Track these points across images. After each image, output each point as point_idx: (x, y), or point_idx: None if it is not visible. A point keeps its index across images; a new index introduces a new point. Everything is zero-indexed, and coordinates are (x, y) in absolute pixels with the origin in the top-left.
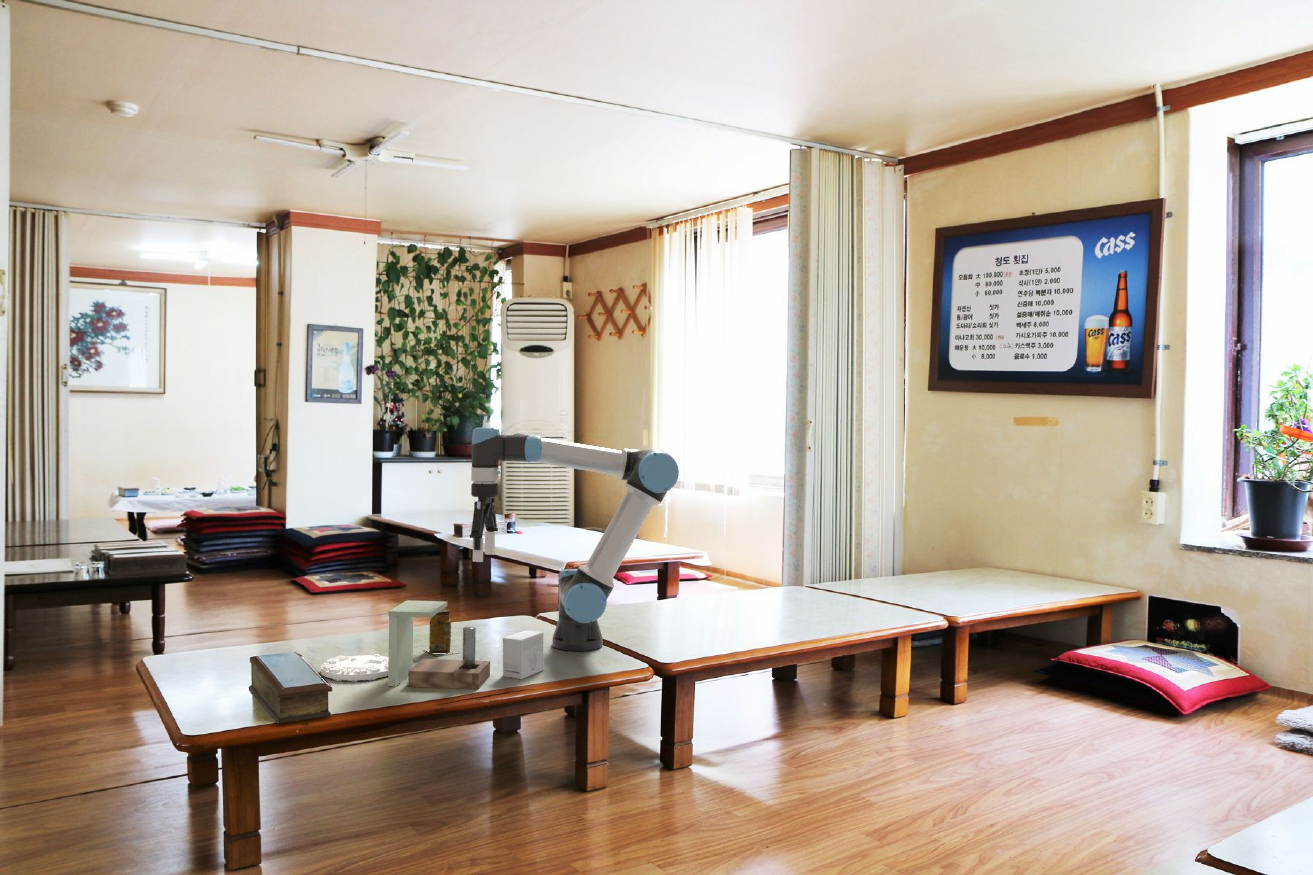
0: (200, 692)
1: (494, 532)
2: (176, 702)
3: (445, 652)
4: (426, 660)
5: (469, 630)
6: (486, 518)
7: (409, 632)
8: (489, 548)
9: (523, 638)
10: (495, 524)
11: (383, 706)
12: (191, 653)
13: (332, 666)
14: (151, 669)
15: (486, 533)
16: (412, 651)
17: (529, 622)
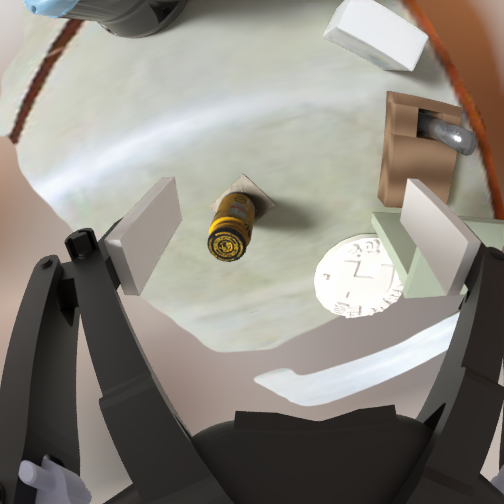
0: (411, 356)
1: (117, 238)
2: (431, 355)
3: (248, 196)
4: (395, 199)
5: (474, 141)
6: (156, 377)
7: (411, 249)
8: (168, 212)
9: (417, 30)
10: (53, 275)
11: (491, 209)
12: (290, 398)
13: (384, 303)
14: (339, 398)
15: (139, 281)
16: (384, 228)
17: (35, 141)
